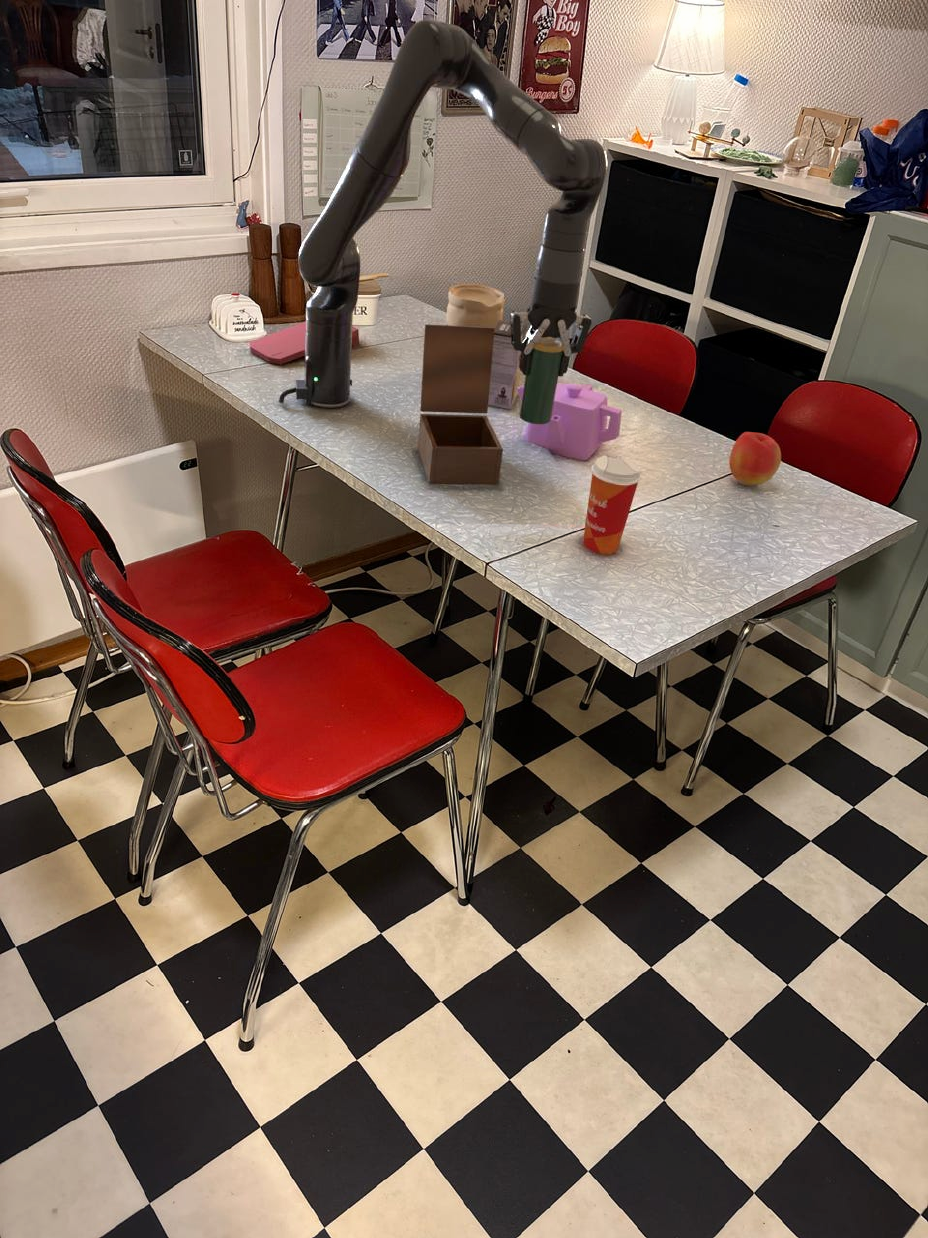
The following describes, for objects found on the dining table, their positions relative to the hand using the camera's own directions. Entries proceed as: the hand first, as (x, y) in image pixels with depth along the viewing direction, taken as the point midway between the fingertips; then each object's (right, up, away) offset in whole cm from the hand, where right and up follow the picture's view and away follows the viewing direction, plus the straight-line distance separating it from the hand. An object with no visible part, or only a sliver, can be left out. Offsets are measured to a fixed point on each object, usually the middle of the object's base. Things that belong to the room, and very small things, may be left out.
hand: (542, 373), depth 164 cm
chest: (-15, -14, +14) cm, 25 cm away
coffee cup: (+10, -30, -4) cm, 32 cm away
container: (-13, +15, +57) cm, 61 cm away
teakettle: (+6, -7, +29) cm, 30 cm away
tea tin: (-1, -7, +5) cm, 8 cm away
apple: (+42, -16, +23) cm, 51 cm away
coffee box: (-6, +6, +45) cm, 46 cm away
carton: (-51, +21, +58) cm, 80 cm away
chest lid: (-15, +4, +11) cm, 19 cm away
